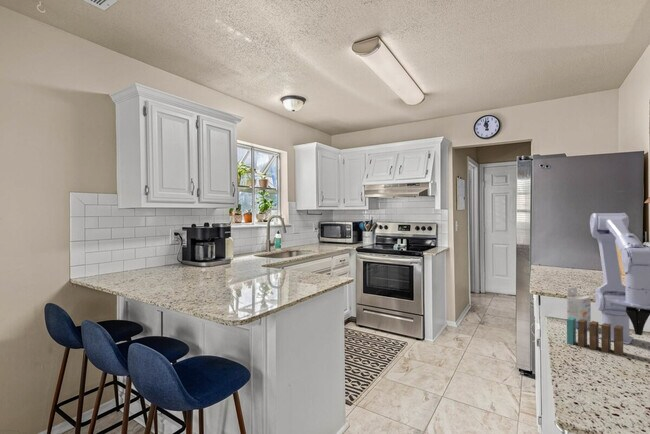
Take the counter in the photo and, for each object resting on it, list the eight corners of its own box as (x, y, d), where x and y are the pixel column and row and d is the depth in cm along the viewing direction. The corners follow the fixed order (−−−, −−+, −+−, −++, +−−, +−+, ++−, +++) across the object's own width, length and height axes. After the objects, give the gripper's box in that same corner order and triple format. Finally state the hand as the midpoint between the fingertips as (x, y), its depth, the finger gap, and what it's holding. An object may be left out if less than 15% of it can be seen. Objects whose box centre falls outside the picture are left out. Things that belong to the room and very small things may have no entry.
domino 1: (567, 343, 112) (566, 319, 112) (570, 340, 115) (570, 317, 115) (572, 344, 111) (572, 320, 111) (575, 341, 114) (575, 318, 114)
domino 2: (578, 345, 110) (577, 321, 110) (581, 343, 112) (581, 318, 113) (584, 347, 109) (583, 322, 109) (587, 344, 111) (587, 320, 111)
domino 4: (601, 351, 105) (601, 325, 105) (604, 348, 108) (604, 322, 108) (608, 352, 104) (607, 326, 104) (610, 349, 107) (610, 324, 107)
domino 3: (589, 348, 108) (589, 323, 108) (592, 345, 110) (592, 320, 110) (595, 349, 106) (595, 324, 107) (598, 346, 109) (598, 322, 109)
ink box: (582, 330, 126) (581, 290, 127) (566, 326, 131) (566, 288, 131) (591, 326, 131) (591, 288, 131) (576, 323, 135) (575, 286, 136)
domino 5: (614, 354, 103) (613, 327, 103) (616, 350, 106) (616, 325, 106) (621, 355, 102) (620, 328, 102) (623, 352, 104) (623, 326, 105)
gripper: (604, 286, 104) (604, 330, 103) (671, 293, 93) (672, 343, 92) (608, 283, 108) (609, 326, 108) (673, 290, 97) (674, 338, 97)
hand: (638, 334), depth 100 cm, fingers closed
